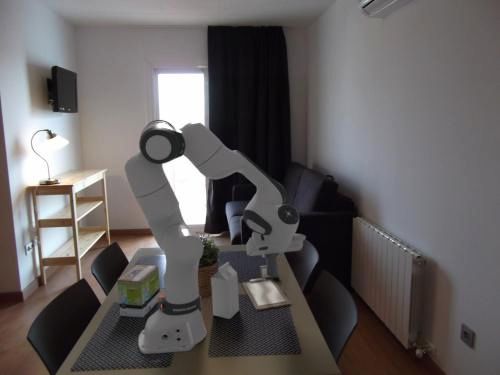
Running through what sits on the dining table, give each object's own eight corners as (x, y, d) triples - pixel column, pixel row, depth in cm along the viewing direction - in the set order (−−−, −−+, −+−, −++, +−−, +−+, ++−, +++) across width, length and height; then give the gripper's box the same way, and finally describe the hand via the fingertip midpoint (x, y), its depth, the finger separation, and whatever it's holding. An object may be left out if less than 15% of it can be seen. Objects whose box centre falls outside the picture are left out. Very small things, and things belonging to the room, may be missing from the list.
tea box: (144, 318, 141) (140, 281, 138) (119, 316, 143) (115, 279, 140) (161, 299, 156) (158, 264, 153) (139, 297, 158) (135, 263, 155)
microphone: (268, 276, 140) (267, 243, 137) (265, 272, 144) (264, 239, 141) (278, 275, 141) (278, 241, 138) (275, 271, 145) (275, 238, 142)
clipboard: (256, 310, 143) (256, 306, 143) (241, 284, 166) (241, 280, 166) (291, 304, 146) (291, 301, 146) (272, 279, 169) (272, 276, 169)
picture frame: (260, 280, 169) (260, 267, 168) (260, 278, 170) (259, 266, 169) (277, 277, 171) (277, 264, 170) (277, 276, 172) (276, 263, 171)
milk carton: (213, 315, 141) (210, 267, 137) (223, 306, 147) (220, 260, 143) (229, 319, 138) (226, 270, 134) (239, 310, 144) (236, 263, 140)
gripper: (304, 226, 134) (295, 244, 145) (248, 232, 130) (243, 249, 141) (309, 242, 131) (299, 259, 142) (251, 248, 126) (246, 265, 138)
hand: (271, 254), depth 141 cm, fingers closed on microphone, 4 cm apart
